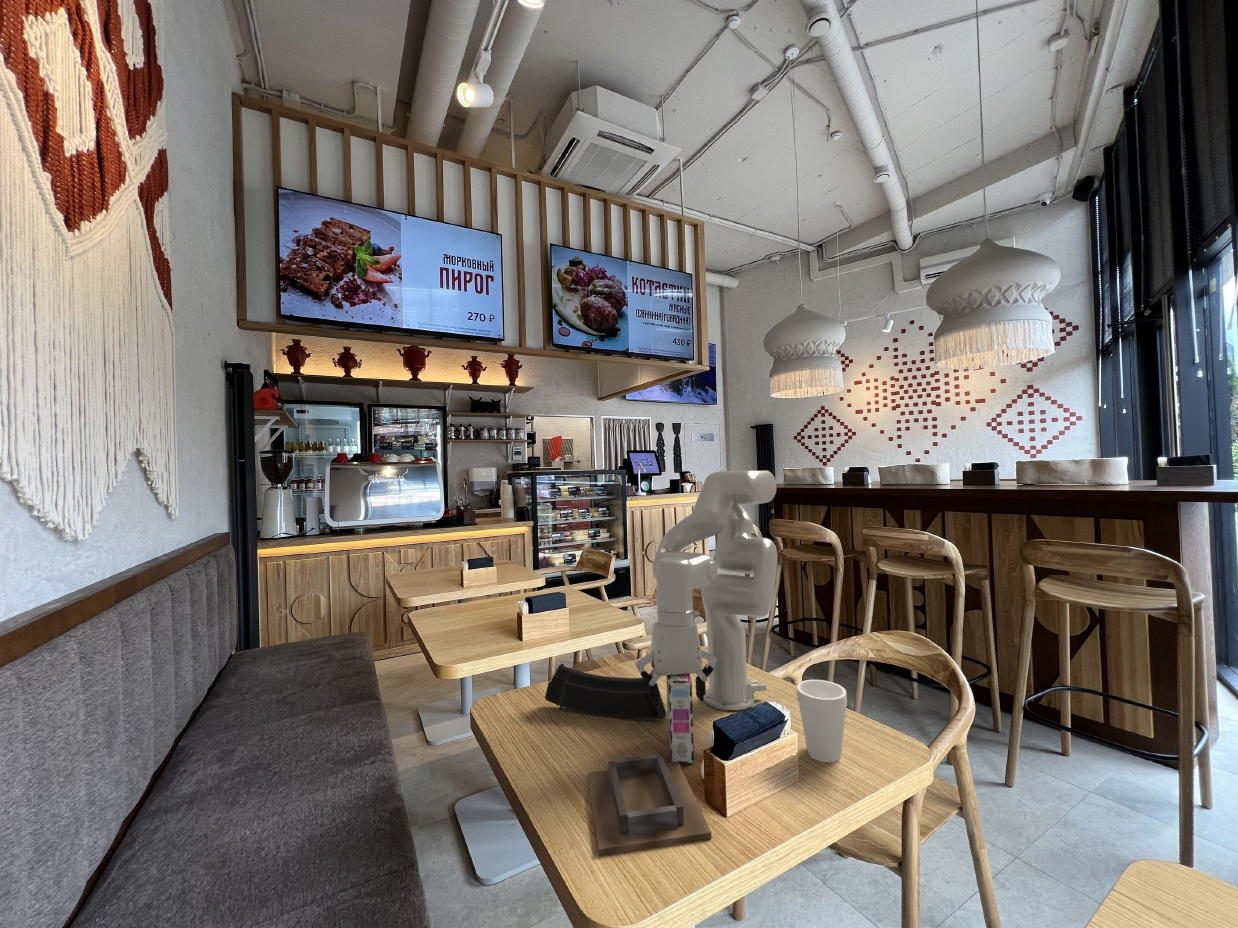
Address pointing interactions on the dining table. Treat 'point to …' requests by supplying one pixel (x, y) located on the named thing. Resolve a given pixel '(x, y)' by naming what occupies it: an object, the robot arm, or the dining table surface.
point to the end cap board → (644, 806)
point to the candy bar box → (680, 718)
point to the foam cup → (822, 718)
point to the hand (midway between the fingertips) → (677, 700)
